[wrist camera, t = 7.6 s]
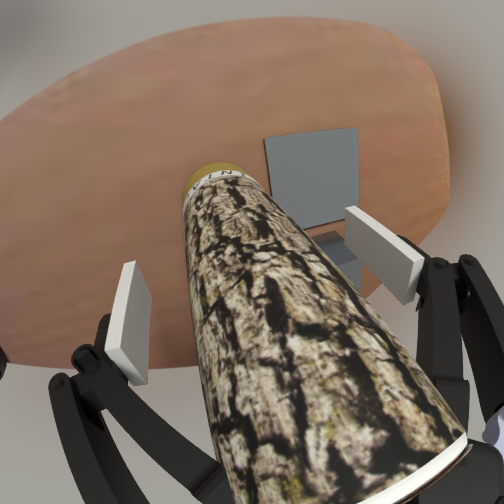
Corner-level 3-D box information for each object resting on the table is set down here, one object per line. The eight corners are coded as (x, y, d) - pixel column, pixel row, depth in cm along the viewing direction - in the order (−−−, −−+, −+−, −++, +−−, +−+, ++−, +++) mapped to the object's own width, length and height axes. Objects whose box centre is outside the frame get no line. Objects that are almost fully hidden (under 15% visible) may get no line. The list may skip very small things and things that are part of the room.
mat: (276, 233, 29) (277, 235, 28) (263, 138, 23) (264, 139, 23) (356, 213, 30) (358, 214, 30) (355, 127, 25) (357, 128, 24)
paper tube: (267, 200, 27) (458, 447, 6) (211, 241, 27) (305, 527, 6) (227, 145, 23) (502, 431, 2) (167, 192, 24) (183, 557, 3)
